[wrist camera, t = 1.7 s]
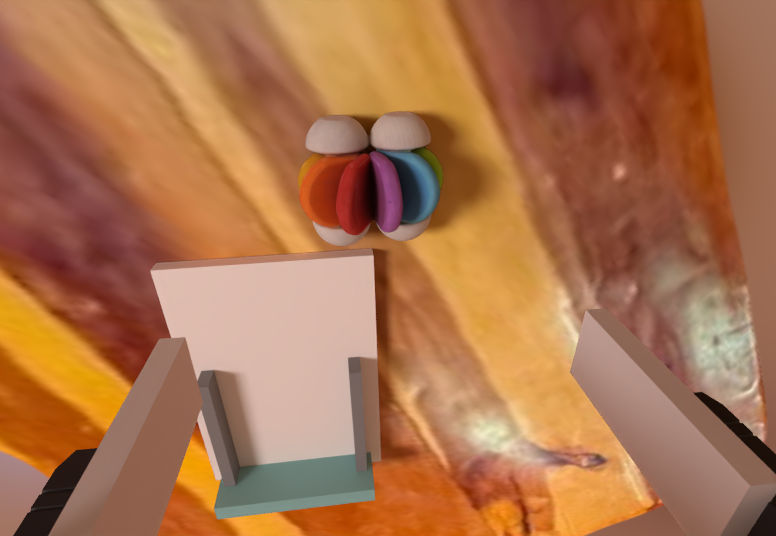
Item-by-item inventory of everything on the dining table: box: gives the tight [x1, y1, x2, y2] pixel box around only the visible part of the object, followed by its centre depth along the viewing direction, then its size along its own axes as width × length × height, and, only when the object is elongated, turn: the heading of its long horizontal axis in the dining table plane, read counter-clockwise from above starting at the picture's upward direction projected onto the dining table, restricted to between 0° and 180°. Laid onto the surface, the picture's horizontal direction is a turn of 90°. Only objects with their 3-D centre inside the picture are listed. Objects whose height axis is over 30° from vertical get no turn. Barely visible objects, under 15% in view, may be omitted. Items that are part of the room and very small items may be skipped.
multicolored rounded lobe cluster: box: [298, 111, 443, 246], centre depth 28 cm, size 8×10×7 cm
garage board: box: [150, 248, 381, 519], centre depth 36 cm, size 23×16×5 cm
